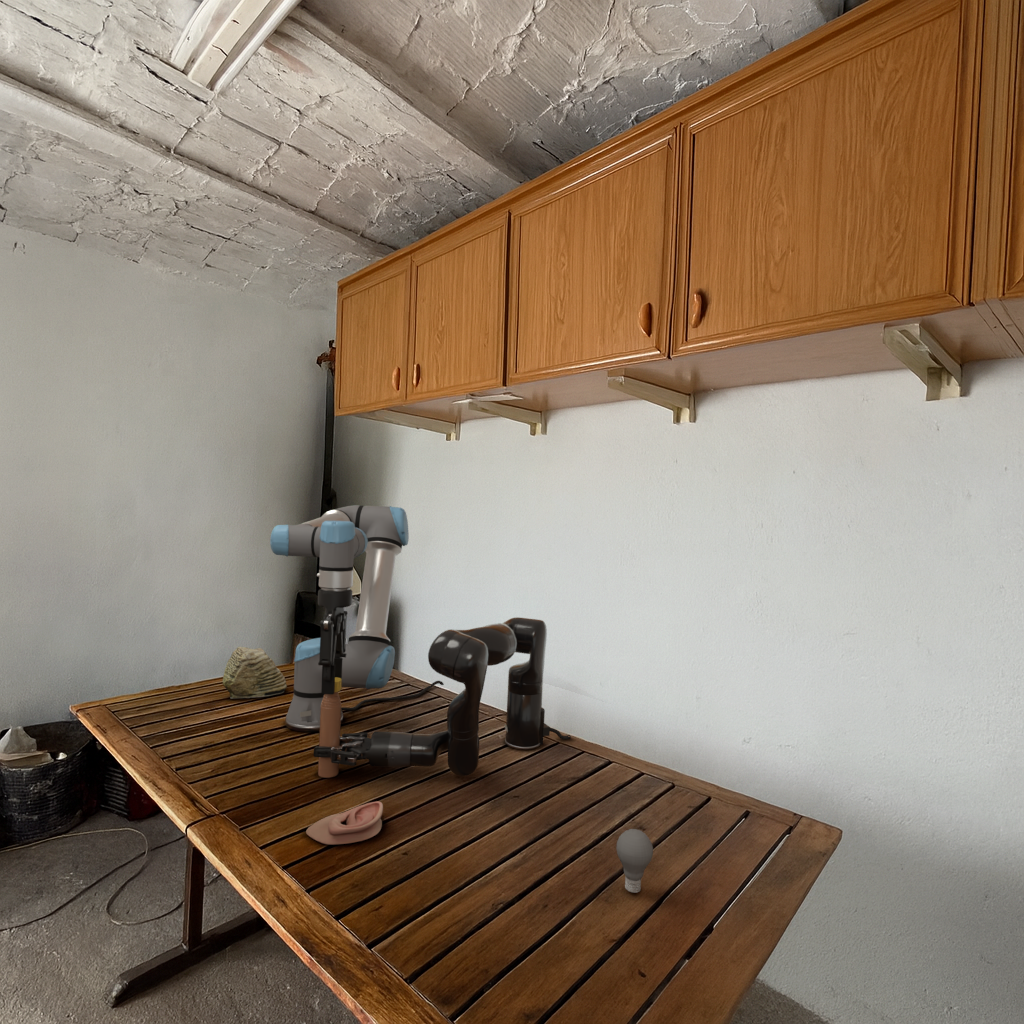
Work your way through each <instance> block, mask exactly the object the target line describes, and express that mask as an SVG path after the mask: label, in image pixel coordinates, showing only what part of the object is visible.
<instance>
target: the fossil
mask: <svg viewBox="0 0 1024 1024" xmlns="http://www.w3.org/2000/svg"><path fill="white" fill-rule="evenodd" d="M222 676H223V677H222V685H223V687H224V688H225V690H226V691H228V693H229V698H230V699H250V698H264V697H271V696H275V695H281V694H284V693H285V691H286V689H287V687H288V686H287V680H286V678H285V676H284V674H283V673H282V672H281V669H279V668H278V667H277V665H276V663H275V662H274V660H273V659H272V658H271V657H270V656H269V655H268V654H267V653H266V652H265V650H264V649H263V648H260V647H258V648H251V647H247V646H246V647H245V646H238V647H237V648H236V649H235V650H233V651H232V653H231V656H230V657H229V659H228V660H227V663H226V666H225V668H224V671H223V675H222Z"/></svg>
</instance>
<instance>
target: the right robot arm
mask: <svg viewBox="0 0 1024 1024" xmlns="http://www.w3.org/2000/svg"><path fill="white" fill-rule="evenodd" d="M547 637H548V628H547V623H546V622H545V621H544V620H542V619H537V618H528V617H517V616H516V617H512V618H509V619H507V620H505V621H504V622H498V623H491V624H487V625H483V626H479V627H474V628H470V629H447V630H444V631H442V632H441V633H440V634H438V635H437V636H436V637H435V639H434V640H433V642H432V643H431V645H430V646H429V649H428V653H427V661H428V664H429V666H430V668H431V669H432V670H433V671H434V672H436V673H437V674H439V675H441V676H444V677H445V678H449V679H450V680H453V681H455V682H457V683H461V684H463V685H464V689H463V690H462V691H461V692H459V693H458V694H457V695H456V696H455V697H454V698H452V700H451V701H450V703H449V705H448V708H447V710H446V727H447V728H446V730H443V731H439V732H434V733H430V734H429V733H427V734H426V733H425V734H424V733H409V732H402V731H374V732H373V733H372V734H371V736H370V737H368V735H369V733H368V732H364V731H363V732H351V733H343V734H341V735H340V746H336V747H326V746H319V745H316V746H315V747H314V748H313V757H314V758H319V757H328V758H330V759H331V762H332V763H337V764H339V765H343V766H352V767H355V766H357V762H358V761H362V760H368V764H369V765H370V767H381V768H406V767H418V768H419V767H421V768H422V767H423V768H429V767H431V768H432V767H434V766H435V765H436V763H437V761H438V759H439V756H440V754H442V753H443V752H446V751H447V766H448V769H449V770H450V772H451V773H452V774H454V775H455V776H456V777H457V776H458V777H468V776H470V775H472V774H474V773H475V772H476V770H477V768H478V766H479V762H480V761H479V760H480V736H479V730H480V705H481V701H482V696H483V691H484V686H485V681H486V676H487V670H488V666H490V667H491V666H496V665H499V664H502V663H505V662H507V661H509V660H510V659H511V658H512V657H513V656H514V654H515V653H518V654H524V655H525V654H526V655H529V659H528V660H527V661H524V662H521V663H516V664H513V665H512V666H510V667H509V669H508V672H507V673H508V675H507V676H508V677H507V695H506V696H507V697H506V699H507V700H506V719H505V720H506V721H505V722H506V723H504V729H505V738H504V743H505V745H506V746H507V747H509V748H512V749H515V750H523V751H524V750H525V751H526V750H528V751H529V750H535V749H537V748H539V747H540V746H543V745H544V738H545V737H549V736H550V735H551V734H550V733H554V734H555V735H556V736H557V737H558V738H559V739H560V740H563V741H567V740H568V741H569V740H571V739H572V737H571V735H570V734H567V735H562V733H561V732H560V731H559V730H558V729H556V728H554V727H551V726H549V725H548V724H546V723H545V716H546V715H545V712H546V710H545V708H544V707H543V691H544V690H543V689H544V688H543V687H544V670H545V660H546V659H545V658H546V650H547V649H546V647H547V640H548V639H547ZM568 736H570V737H568ZM339 750H340V751H339Z"/></svg>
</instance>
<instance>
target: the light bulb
mask: <svg viewBox="0 0 1024 1024" xmlns="http://www.w3.org/2000/svg"><path fill="white" fill-rule="evenodd" d="M615 849H616V854H617V857H618V859H619V861H620V863H621V865H622V867H623V873H624V874H623V875H624V876H625V878H624V888H625V890H627V891H628V892H630V893H634V894H635V893H639V892H640V891H641V889H642V887H641V886H642V879H643V877H644V875H645V871H646V868H647V867H648V866H649V864H650V863H651V861H652V859H653V855H654V847H653V843H652V841H651V838H649V836H648V835H647V834H646V833H645V832H643V831H642V830H641V829H636V828H629V829H627V830H625V831H623V832H622V833H621V834H620V835H619V837H618V839H617V841H616V847H615Z"/></svg>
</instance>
